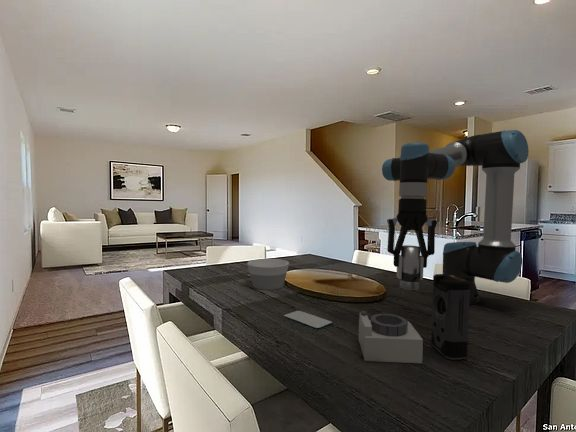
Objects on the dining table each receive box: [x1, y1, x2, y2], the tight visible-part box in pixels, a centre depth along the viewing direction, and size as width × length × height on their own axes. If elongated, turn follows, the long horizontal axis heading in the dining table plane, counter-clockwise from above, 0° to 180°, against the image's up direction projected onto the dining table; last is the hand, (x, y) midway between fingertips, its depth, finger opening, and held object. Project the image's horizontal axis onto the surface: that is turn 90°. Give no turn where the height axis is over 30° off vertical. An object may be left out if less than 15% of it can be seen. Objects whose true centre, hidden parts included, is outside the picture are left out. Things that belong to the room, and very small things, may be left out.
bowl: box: [246, 258, 290, 291], centre depth 152 cm, size 19×19×11 cm
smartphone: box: [283, 310, 333, 331], centre depth 111 cm, size 8×1×16 cm
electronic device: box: [430, 273, 470, 361], centre depth 88 cm, size 9×6×20 cm, turn 5°
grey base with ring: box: [358, 310, 424, 364], centre depth 89 cm, size 14×12×9 cm
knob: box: [399, 244, 421, 291], centre depth 96 cm, size 5×5×12 cm
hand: (409, 278), depth 96 cm, fingers closed on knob, 5 cm apart
